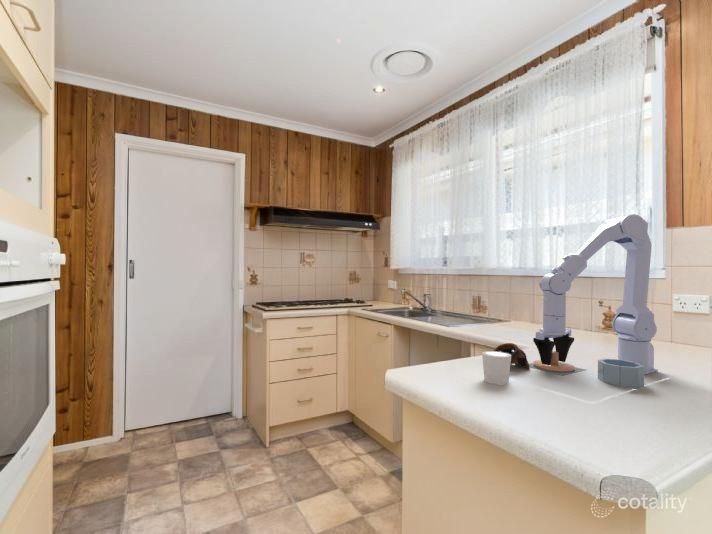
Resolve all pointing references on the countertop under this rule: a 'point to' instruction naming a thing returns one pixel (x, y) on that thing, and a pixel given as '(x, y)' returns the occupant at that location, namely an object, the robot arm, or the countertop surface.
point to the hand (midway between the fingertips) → (553, 362)
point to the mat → (558, 372)
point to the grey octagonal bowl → (621, 373)
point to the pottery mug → (514, 354)
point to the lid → (555, 364)
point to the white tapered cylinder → (496, 367)
